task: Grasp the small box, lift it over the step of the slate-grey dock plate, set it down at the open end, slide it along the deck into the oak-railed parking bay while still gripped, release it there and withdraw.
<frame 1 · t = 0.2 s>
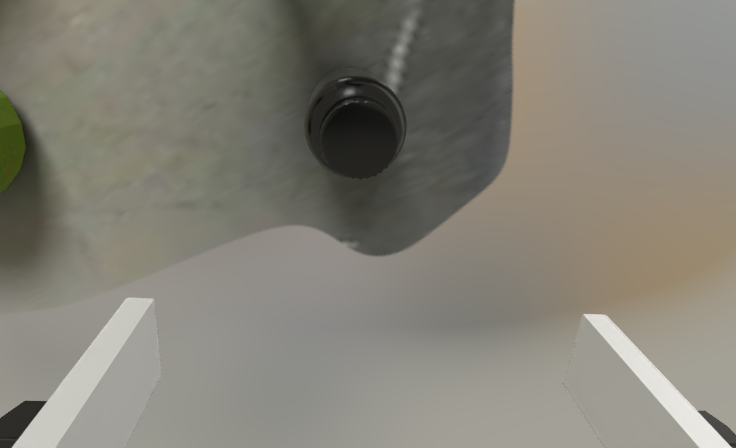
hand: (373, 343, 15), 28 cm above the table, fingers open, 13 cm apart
supplement bottle: (350, 109, 40), on the table
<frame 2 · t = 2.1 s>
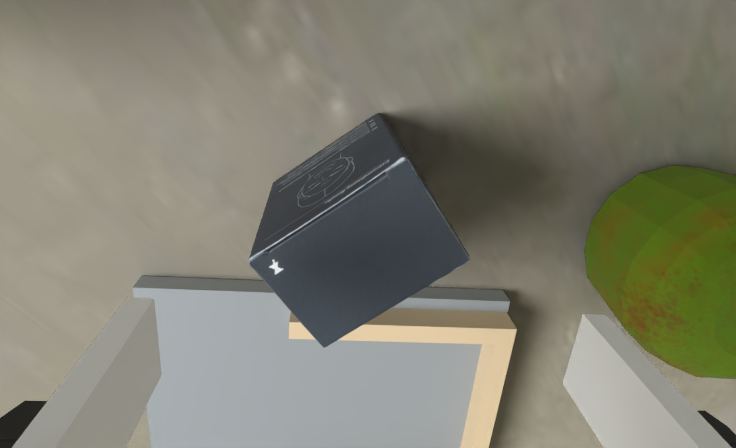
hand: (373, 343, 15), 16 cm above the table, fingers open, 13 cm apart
dock: (322, 379, 35), on the table
apple: (645, 230, 32), on the table
box: (350, 182, 30), on the table
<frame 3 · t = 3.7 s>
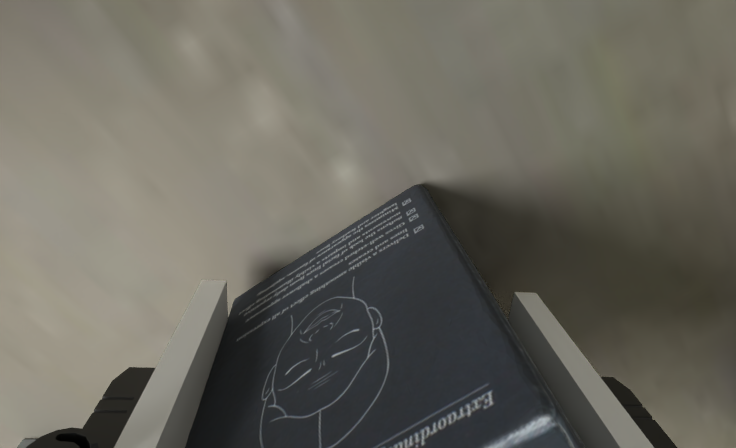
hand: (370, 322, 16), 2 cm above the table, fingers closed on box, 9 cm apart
box: (367, 293, 18), on the table, touching gripper
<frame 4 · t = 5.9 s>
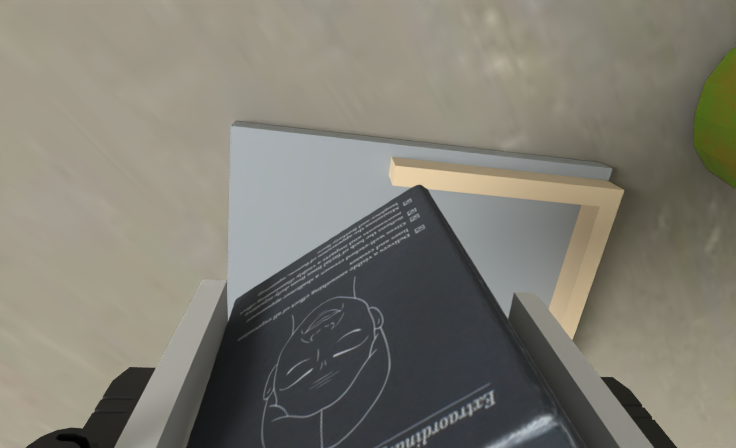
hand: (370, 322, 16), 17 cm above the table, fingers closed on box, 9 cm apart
dock: (406, 254, 34), on the table
box: (368, 293, 18), point 15 cm above the table, touching gripper
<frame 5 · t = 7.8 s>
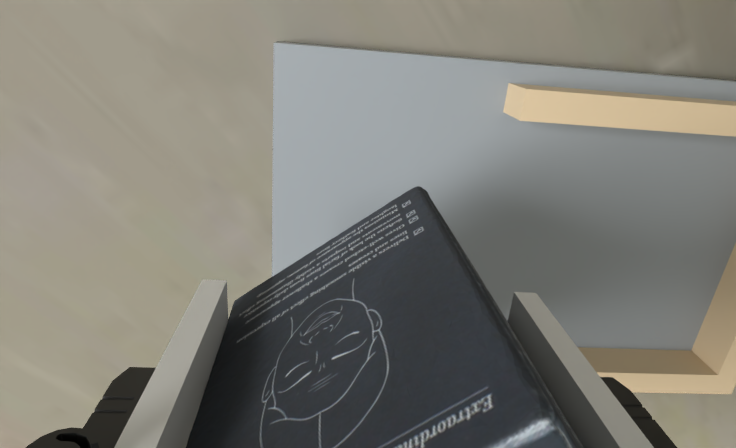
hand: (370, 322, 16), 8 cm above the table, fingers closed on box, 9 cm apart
dock: (514, 229, 24), on the table
box: (367, 295, 18), point 7 cm above the table, touching gripper
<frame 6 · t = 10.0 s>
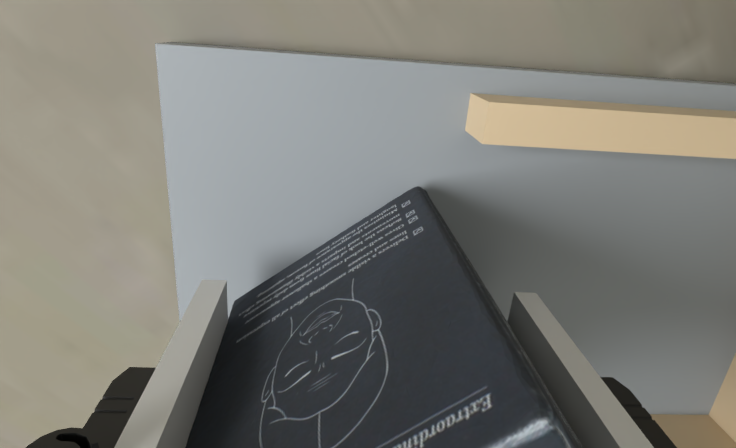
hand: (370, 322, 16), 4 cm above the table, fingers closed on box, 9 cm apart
dock: (488, 272, 20), on the table
box: (366, 295, 18), point 2 cm above the table, touching gripper
when the fingers open (3 cm above the table, at t = 12.1 s): box stays where it is, resting on dock.
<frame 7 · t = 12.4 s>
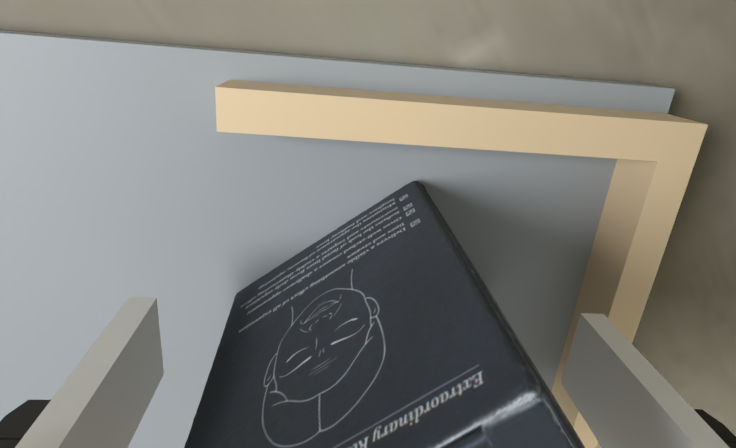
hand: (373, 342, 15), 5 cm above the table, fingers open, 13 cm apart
dock: (301, 269, 19), on the table
box: (365, 287, 18), point 1 cm above the table, touching dock
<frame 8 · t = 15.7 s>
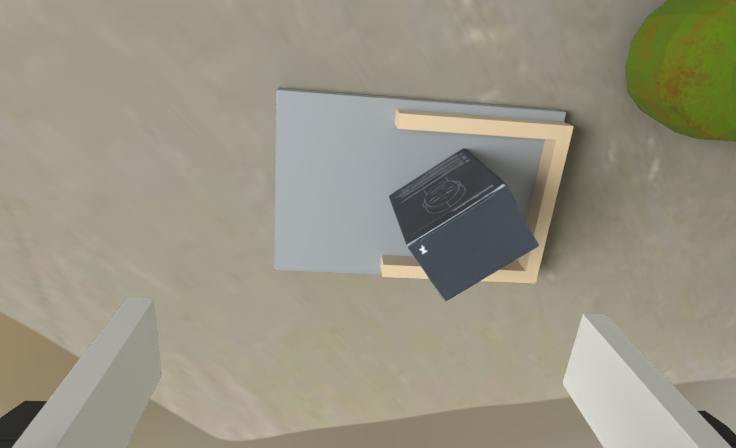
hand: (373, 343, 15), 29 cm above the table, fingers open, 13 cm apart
dock: (411, 189, 43), on the table
apple: (672, 58, 41), on the table
box: (440, 195, 42), point 1 cm above the table, touching dock
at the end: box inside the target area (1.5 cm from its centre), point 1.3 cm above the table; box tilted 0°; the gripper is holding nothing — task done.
